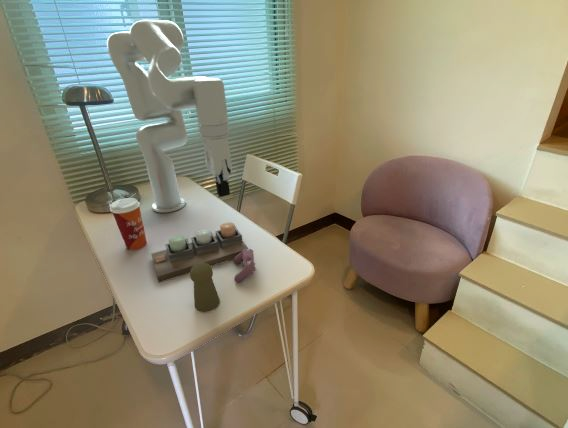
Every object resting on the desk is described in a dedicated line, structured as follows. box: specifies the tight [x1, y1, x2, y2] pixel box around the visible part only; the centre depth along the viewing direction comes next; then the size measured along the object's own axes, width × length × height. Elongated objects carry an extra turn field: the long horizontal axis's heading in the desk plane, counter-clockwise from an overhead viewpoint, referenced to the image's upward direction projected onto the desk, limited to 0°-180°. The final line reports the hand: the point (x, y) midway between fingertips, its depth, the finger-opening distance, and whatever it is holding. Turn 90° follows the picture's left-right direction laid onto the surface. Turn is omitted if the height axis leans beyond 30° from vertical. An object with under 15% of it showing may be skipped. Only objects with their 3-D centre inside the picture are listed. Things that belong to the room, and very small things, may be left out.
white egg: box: [194, 228, 212, 245], centre depth 93 cm, size 4×4×3 cm
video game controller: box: [233, 248, 257, 283], centre depth 86 cm, size 10×5×7 cm, turn 10°
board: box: [150, 226, 249, 284], centre depth 93 cm, size 12×26×4 cm, turn 117°
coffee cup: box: [109, 197, 148, 251], centre depth 97 cm, size 8×8×15 cm
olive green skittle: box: [189, 263, 221, 313], centre depth 74 cm, size 6×6×11 cm
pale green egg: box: [168, 235, 187, 253], centre depth 90 cm, size 4×4×3 cm
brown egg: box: [219, 222, 236, 238], centre depth 96 cm, size 4×4×3 cm
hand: (223, 194), depth 90 cm, fingers closed
